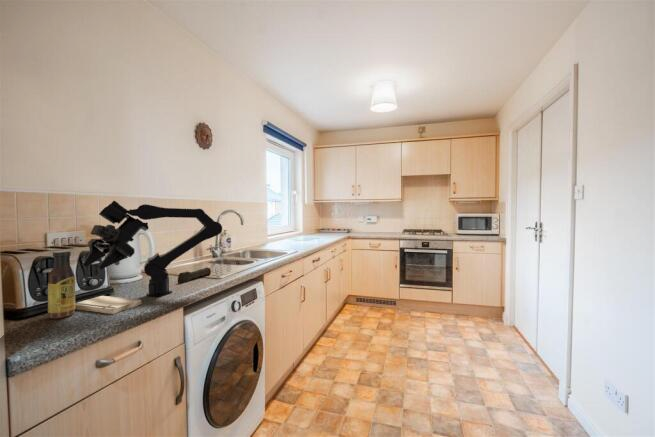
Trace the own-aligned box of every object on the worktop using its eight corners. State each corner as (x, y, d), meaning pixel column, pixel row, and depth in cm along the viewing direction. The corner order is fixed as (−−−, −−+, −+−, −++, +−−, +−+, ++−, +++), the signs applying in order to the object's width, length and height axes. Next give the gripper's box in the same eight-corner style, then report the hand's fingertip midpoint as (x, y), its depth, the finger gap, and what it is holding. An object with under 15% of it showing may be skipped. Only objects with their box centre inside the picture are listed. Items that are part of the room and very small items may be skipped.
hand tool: (205, 274, 149) (204, 265, 149) (211, 275, 148) (211, 266, 148) (173, 283, 131) (173, 273, 131) (180, 284, 130) (179, 273, 130)
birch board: (102, 299, 107) (102, 295, 107) (141, 304, 102) (141, 299, 102) (70, 309, 97) (69, 304, 97) (111, 314, 92) (111, 309, 92)
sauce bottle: (64, 319, 88) (62, 253, 87) (42, 320, 87) (40, 253, 87) (81, 311, 94) (79, 250, 94) (60, 312, 94) (58, 250, 93)
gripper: (93, 216, 106) (55, 250, 96) (124, 216, 98) (86, 254, 88) (117, 236, 113) (84, 270, 103) (148, 238, 105) (115, 275, 95)
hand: (91, 267), depth 97 cm, fingers open, 9 cm apart
